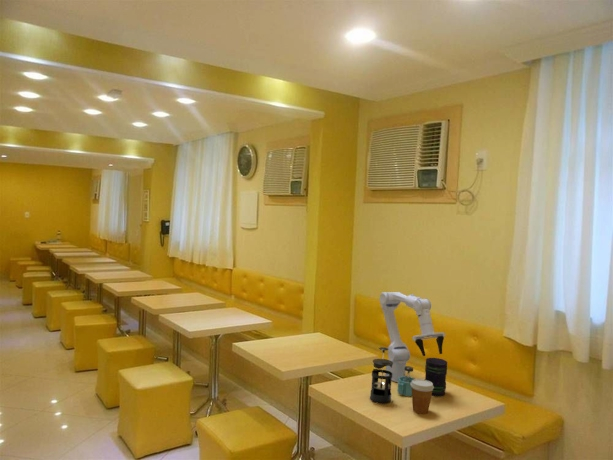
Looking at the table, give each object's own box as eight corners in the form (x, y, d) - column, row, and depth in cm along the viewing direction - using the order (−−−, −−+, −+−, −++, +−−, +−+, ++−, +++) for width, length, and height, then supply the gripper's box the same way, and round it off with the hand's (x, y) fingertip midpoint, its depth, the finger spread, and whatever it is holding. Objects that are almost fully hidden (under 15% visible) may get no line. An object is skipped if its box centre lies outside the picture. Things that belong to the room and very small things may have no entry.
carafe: (392, 392, 211) (392, 379, 211) (404, 387, 218) (405, 375, 218) (407, 398, 205) (408, 385, 205) (420, 393, 212) (421, 380, 212)
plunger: (398, 384, 212) (399, 367, 212) (405, 381, 217) (406, 364, 217) (409, 388, 208) (411, 370, 208) (417, 385, 212) (418, 368, 212)
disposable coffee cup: (415, 404, 199) (416, 376, 199) (435, 411, 193) (437, 382, 193) (404, 410, 192) (406, 382, 192) (426, 417, 186) (428, 388, 186)
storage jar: (443, 389, 219) (445, 358, 219) (447, 397, 209) (449, 365, 209) (422, 387, 220) (424, 356, 220) (425, 395, 210) (427, 363, 210)
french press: (396, 403, 199) (399, 350, 198) (377, 405, 196) (380, 352, 195) (382, 393, 210) (385, 343, 209) (364, 395, 206) (367, 344, 206)
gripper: (412, 325, 208) (418, 356, 203) (443, 321, 208) (450, 351, 203) (409, 327, 214) (415, 357, 209) (440, 323, 215) (446, 353, 210)
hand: (432, 354), depth 207 cm, fingers open, 7 cm apart
